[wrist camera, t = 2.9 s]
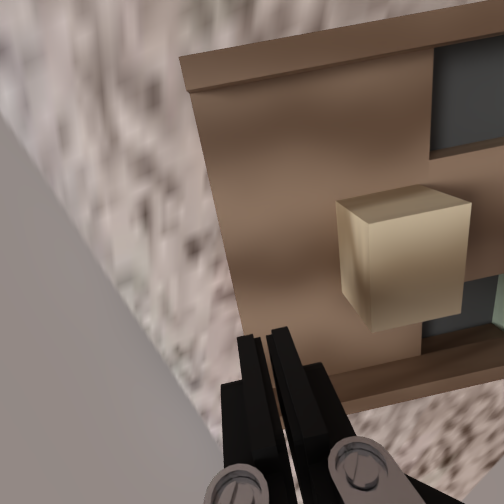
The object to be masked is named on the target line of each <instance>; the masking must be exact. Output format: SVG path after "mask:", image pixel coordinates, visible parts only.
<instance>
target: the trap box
mask: <svg viewBox="0 0 504 504" xmlns="http://www.w3.org/2000/svg"><path fill="white" fill-rule="evenodd" d="M179 60H180V65H181V69H182V73H183V78H184V82H185V87H186V91H187V92H189V93H190V97H191V102H192V106H193V110H194V115H195V119H196V124H197V128H198V133H199V137H200V142H201V146H202V150H203V155H204V159H205V164H206V168H207V173H208V177H209V181H210V186H211V190H212V195H213V199H214V204H215V208H216V212H217V217H218V221H219V226H220V230H221V235H222V239H223V243H224V248H225V252H226V257H227V261H228V266H229V270H230V274H231V279H232V283H233V288H234V292H235V297H236V301H237V306H238V310H239V314H240V319H241V323H242V328H243V332H244V336H245V335H249V334H253V336H254V338H257V337H261V341H262V345H263V349H264V354H265V358H266V362H267V366H268V370H269V374H270V379H271V383H272V387H273V391H274V395H275V400H276V404H277V408H278V412H279V416H280V421H281V425H282V429H285V427H284V422H283V418H282V414H281V410H280V406H279V402H278V397H277V392H276V387H275V382H274V377H273V371H272V366H271V361H270V356H269V351H268V346H267V341H266V335H270V334H271V330H272V329H276V328H281V327H285V326H287V327H288V329H289V331H290V334H291V337H292V339H293V342H294V344H295V347H296V350H297V352H298V355H299V358H300V360H301V363H302V365H303V366H304V365H308V364H313V363H317V362H321V363H322V364H323V366H324V368H325V370H326V372H327V374H328V376H329V378H330V380H331V383H332V385H333V387H334V389H335V391H336V393H337V395H338V398H339V400H340V402H341V404H342V406H343V408H344V410H345V412H346V415H348V414H353V413H357V412H361V411H366V410H370V409H374V408H379V407H383V406H387V405H392V404H396V403H401V402H405V401H409V400H414V399H418V398H422V397H427V396H431V395H435V394H440V393H444V392H448V391H453V390H457V389H462V388H466V387H470V386H475V385H479V384H483V383H488V382H492V381H496V380H501V379H504V0H487V1H482V2H476V3H471V4H465V5H460V6H454V7H449V8H443V9H438V10H433V11H427V12H422V13H416V14H411V15H405V16H400V17H394V18H389V19H383V20H378V21H372V22H367V23H361V24H356V25H350V26H345V27H339V28H334V29H329V30H323V31H318V32H312V33H307V34H301V35H296V36H290V37H285V38H279V39H274V40H268V41H263V42H257V43H252V44H246V45H241V46H236V47H230V48H225V49H219V50H214V51H208V52H203V53H197V54H192V55H186V56H181V57H179ZM416 184H419V185H422V186H425V187H428V188H431V189H434V190H437V191H439V192H442V193H445V194H448V195H451V196H454V197H457V198H460V199H462V200H465V201H468V202H471V203H472V205H471V215H470V225H469V235H468V246H467V256H466V266H465V276H464V286H463V296H462V306H461V313H460V314H455V315H451V316H446V317H442V318H437V319H433V320H428V321H424V322H419V323H415V324H410V325H406V326H401V327H396V328H392V329H387V330H383V331H378V332H374V333H372V332H371V331H370V330H369V328H368V327H367V326H366V324H365V323H364V322H363V320H362V319H361V317H360V316H359V315H358V313H357V312H356V311H355V309H354V308H353V307H352V305H351V304H350V302H349V301H348V300H347V298H346V297H345V296H344V294H343V293H342V284H341V270H340V257H339V243H338V229H337V215H336V202H335V201H337V200H342V199H347V198H352V197H357V196H362V195H366V194H371V193H376V192H381V191H386V190H391V189H396V188H401V187H406V186H411V185H416Z"/></svg>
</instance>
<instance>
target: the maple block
mask: <svg viewBox="0 0 504 504" xmlns="http://www.w3.org/2000/svg"><path fill="white" fill-rule="evenodd" d="M335 202H336V215H337V229H338V243H339V257H340V270H341V284H342V293H343V294H344V296H345V297H346V298H347V300H348V301H349V302H350V304H351V305H352V307H353V308H354V309H355V311H356V312H357V313H358V315H359V316H360V317H361V319H362V320H363V322H364V323H365V324H366V326H367V327H368V328H369V330H370V331H371V332H372V333H374V332H378V331H383V330H387V329H392V328H396V327H401V326H406V325H410V324H415V323H419V322H424V321H428V320H433V319H437V318H442V317H446V316H451V315H455V314H460V313H461V306H462V296H463V286H464V276H465V266H466V256H467V246H468V235H469V225H470V215H471V205H472V203H471V202H468V201H465V200H462V199H460V198H457V197H454V196H451V195H448V194H445V193H442V192H439V191H437V190H434V189H431V188H428V187H425V186H422V185H419V184H416V185H411V186H406V187H401V188H396V189H391V190H386V191H381V192H376V193H371V194H366V195H362V196H357V197H352V198H347V199H342V200H337V201H335Z"/></svg>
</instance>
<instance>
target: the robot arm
mask: <svg viewBox="0 0 504 504" xmlns="http://www.w3.org/2000/svg"><path fill="white" fill-rule="evenodd" d="M266 341H267V346H268V351H269V356H270V361H271V366H272V371H273V377H274V382H275V387H276V392H277V397H278V402H279V406H280V410H281V414H282V418H283V422H284V427H285V431H286V435H287V439H288V443H289V447H290V451H291V455H292V459H293V463H294V467H295V471H296V475H297V479H298V483H299V487H300V491H301V495H302V499H303V503H304V504H464V503H462V502H460V501H458V500H456V499H454V498H452V497H450V496H448V495H446V494H444V493H442V492H440V491H438V490H436V489H434V488H432V487H430V486H428V485H426V484H424V483H422V482H420V481H418V480H416V479H414V478H412V477H410V476H408V475H406V474H404V473H403V472H402V470H401V469H400V467H399V466H398V465H397V463H396V462H395V461H394V459H393V458H392V456H391V455H390V454H389V453H388V451H387V450H386V449H385V448H384V447H383V446H382V445H380V444H379V443H377V442H375V441H374V440H372V439H369V438H366V437H360V436H356V434H355V432H354V430H353V427H352V425H351V423H350V421H349V419H348V417H347V415H346V412H345V410H344V408H343V406H342V404H341V402H340V400H339V398H338V395H337V393H336V391H335V389H334V387H333V385H332V383H331V380H330V378H329V376H328V374H327V372H326V370H325V368H324V366H323V364H322V363H321V362H317V363H313V364H308V365H304V366H303V365H302V363H301V360H300V358H299V355H298V352H297V350H296V347H295V344H294V342H293V339H292V337H291V334H290V331H289V329H288V327H287V326H285V327H281V328H276V329H272V330H271V334H270V335H266ZM237 343H238V351H239V358H240V366H241V374H242V380H238V381H234V382H230V383H225V384H221V409H222V433H223V456H224V469H223V470H221V471H220V472H219V473H218V474H217V475H216V476H215V477H214V478H213V479H212V481H211V482H210V484H209V486H208V487H207V490H206V494H205V497H204V503H203V504H298V503H297V498H296V493H295V488H294V482H293V477H292V472H291V467H290V462H289V457H288V452H287V447H286V442H285V438H284V433H283V429H282V425H281V421H280V416H279V412H278V408H277V404H276V400H275V395H274V391H273V387H272V383H271V379H270V374H269V370H268V366H267V362H266V358H265V354H264V349H263V345H262V341H261V337H257V338H254V336H253V334H249V335H245V336H240V337H237Z"/></svg>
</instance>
